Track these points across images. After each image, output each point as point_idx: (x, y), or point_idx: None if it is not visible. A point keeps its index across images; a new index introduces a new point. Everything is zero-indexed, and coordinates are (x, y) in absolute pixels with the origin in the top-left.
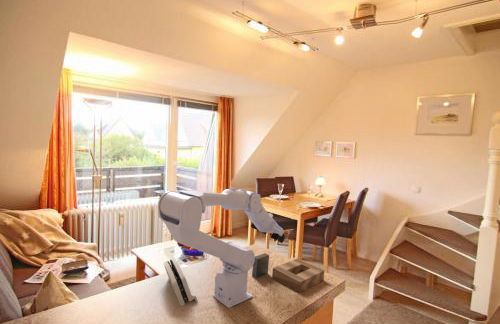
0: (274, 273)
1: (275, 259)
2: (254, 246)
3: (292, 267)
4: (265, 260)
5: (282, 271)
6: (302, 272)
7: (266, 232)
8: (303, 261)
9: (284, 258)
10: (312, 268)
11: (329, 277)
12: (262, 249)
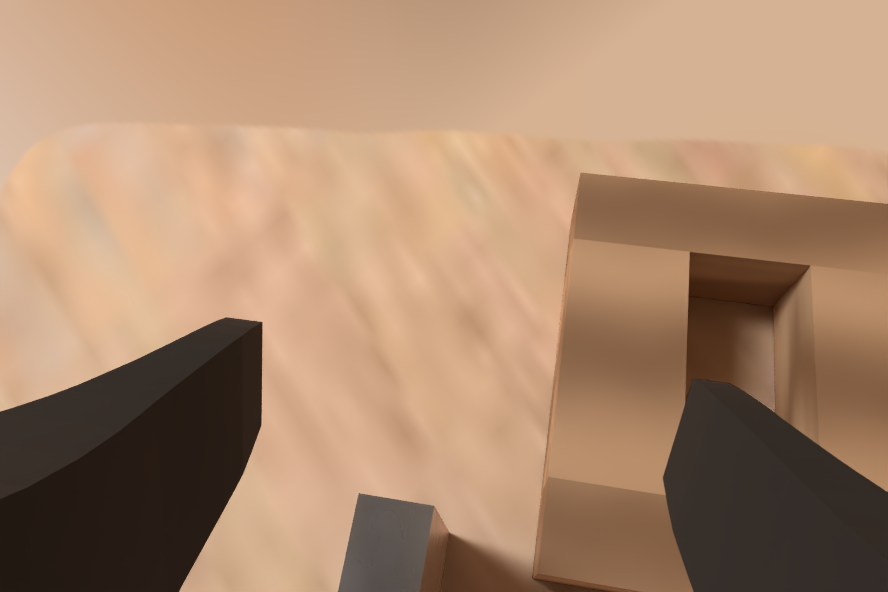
0: (566, 581)
1: (339, 226)
2: (42, 144)
3: (680, 388)
4: (427, 581)
5: (669, 563)
6: (826, 412)
7: (256, 395)
8: (665, 187)
9: (392, 154)
10: (826, 255)
11: (875, 182)
12: (136, 144)
